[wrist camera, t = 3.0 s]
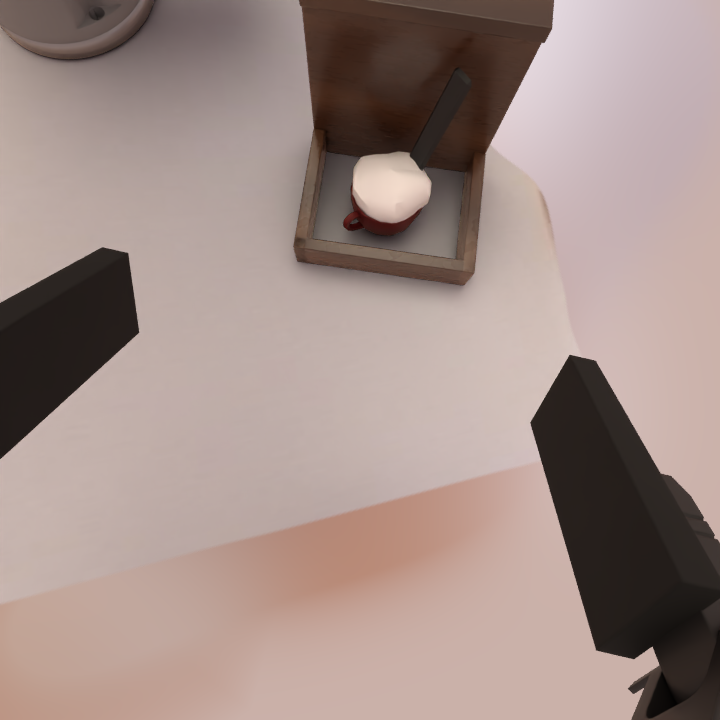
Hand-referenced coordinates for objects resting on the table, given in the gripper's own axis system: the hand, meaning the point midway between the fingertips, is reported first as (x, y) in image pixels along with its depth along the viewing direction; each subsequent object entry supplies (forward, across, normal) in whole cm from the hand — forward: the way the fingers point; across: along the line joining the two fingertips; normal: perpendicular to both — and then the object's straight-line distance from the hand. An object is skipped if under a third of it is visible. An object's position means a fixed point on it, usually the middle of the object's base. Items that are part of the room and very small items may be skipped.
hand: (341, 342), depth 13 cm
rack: (+29, 0, -4) cm, 29 cm away
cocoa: (+29, 0, -4) cm, 29 cm away
